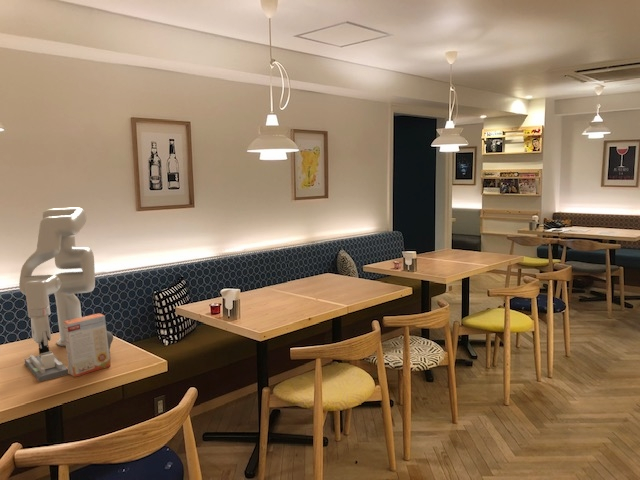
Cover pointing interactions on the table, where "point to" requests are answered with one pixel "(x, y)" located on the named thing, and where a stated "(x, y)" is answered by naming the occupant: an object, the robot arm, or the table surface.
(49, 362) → the switch tab
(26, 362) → the switch panel
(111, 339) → the light bulb
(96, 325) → the cracker box
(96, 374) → the table surface
